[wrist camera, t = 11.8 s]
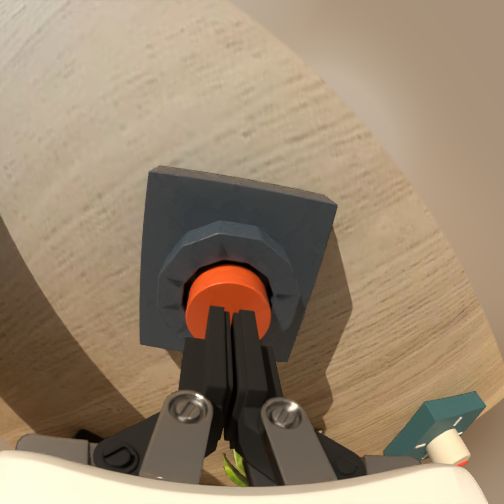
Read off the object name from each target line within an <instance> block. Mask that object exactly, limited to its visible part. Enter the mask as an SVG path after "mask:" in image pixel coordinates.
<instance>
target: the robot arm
mask: <svg viewBox="0 0 504 504" xmlns="http://www.w3.org/2000/svg"><path fill="white" fill-rule="evenodd" d="M223 427H224V440H225V441H230V449H235V452H236V453H237V454H239V455H240V456H241V457H242V464H243V468H244V472H245V475H246V479H247V482H248V486H249V487H230V486H210V485H199V481H200V476H201V471H202V466H203V461H204V458H205V457H207V456H208V455H210V454H211V453H212V452H214V451H215V450H216V447H217V443H218V440H220V438H221V434H222V431H223ZM0 504H488V502H487V500H486V498H485V496H484V494H483V492H482V490H481V489H480V487H479V485H478V484H477V482H476V481H475V479H474V478H473V476H472V475H471V474H470V473H469V472H468V471H467V470H465V469H464V468H462V467H460V466H457V465H452V464H444V463H427V464H422V463H421V462H420V461H419V460H418V459H417V458H415V457H413V456H380V455H364V456H363V457H359V456H358V455H357V454H355V453H354V452H352V451H350V450H349V449H347V448H345V447H343V446H342V445H340V444H338V443H337V442H335V441H333V440H332V439H330V438H328V437H327V436H325V435H323V434H322V433H320V432H318V431H317V430H315V429H314V428H313V426H312V424H311V422H310V420H309V418H308V415H307V413H306V411H305V410H304V408H303V407H302V406H301V405H300V404H299V403H298V402H296V401H294V400H292V399H289V398H285V397H283V394H282V389H281V385H280V380H279V376H278V371H277V366H276V362H275V357H274V353H273V349H272V347H271V346H261V345H260V340H259V334H258V328H257V323H256V317H255V312H254V311H250V310H242V309H240V310H239V312H238V313H236V312H234V313H233V317H232V321H231V326H230V312H228V311H224V307H219V306H212V305H210V307H209V313H208V319H207V326H206V333H205V339H199V338H192V337H185V344H184V351H183V359H182V366H181V374H180V382H179V390H178V391H175V392H172V393H171V394H170V395H168V396H167V398H166V399H165V401H164V403H163V406H162V409H161V411H160V412H159V413H157V414H155V415H153V416H151V417H149V418H147V419H145V420H143V421H141V422H139V423H137V424H135V425H133V426H131V427H129V428H127V429H125V430H123V431H121V432H119V433H117V434H115V435H113V436H111V437H109V438H107V439H105V440H103V441H101V442H100V443H89V441H88V440H81V439H70V438H61V437H53V436H46V435H39V434H27V435H24V436H22V437H21V438H20V439H19V440H18V442H17V444H16V448H15V450H6V451H0Z"/></svg>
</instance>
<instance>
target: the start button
mask: <svg viewBox="0 0 504 504" xmlns="http://www.w3.org/2000/svg"><path fill="white" fill-rule="evenodd" d="M210 305H212V306H219V307H224V311H228V312H230V326H231V321H232V317H233V313H234V312H236V313H238V312H239V310H240V309H242V310H250V311H254V312H255V317H256V323H257V328H258V334H259V340H260V339H261V338H262V337H263V336H264V335H265V334H266V332H267V330H268V328H269V326H270V323H271V309H270V305H269V301H268V297H267V293H266V289H265V286H264V284H263V282H262V280H261V279H260V278H259V277H258V275H256V274H255V273H254V272H253V271H251V270H250V269H248V268H246V267H243V266H240V265H236V264H220V265H216V266H213V267H210V268H208V269H206V270H204V271H203V272H202V273H200V274H199V275H198V276H197V277H196V279H195V280H194V281H193V283H192V285H191V288H190V292H189V297H188V302H187V308H186V314H185V318H186V324H187V327H188V329H189V331H190V333H191V334H192V336H193V337H194V338H199V339H205V333H206V326H207V319H208V313H209V307H210Z"/></svg>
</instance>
